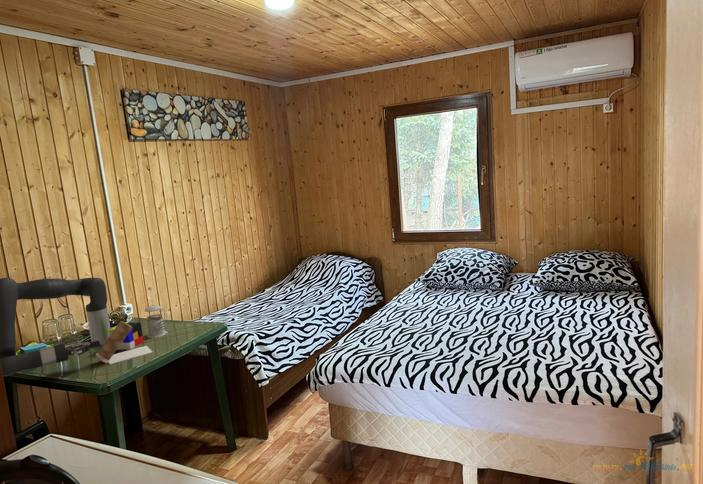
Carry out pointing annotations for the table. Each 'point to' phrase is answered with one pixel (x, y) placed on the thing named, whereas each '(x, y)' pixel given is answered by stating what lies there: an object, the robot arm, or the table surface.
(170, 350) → the table surface
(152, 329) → the french press
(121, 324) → the walnut block
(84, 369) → the table surface
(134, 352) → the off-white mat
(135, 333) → the puzzle toy
